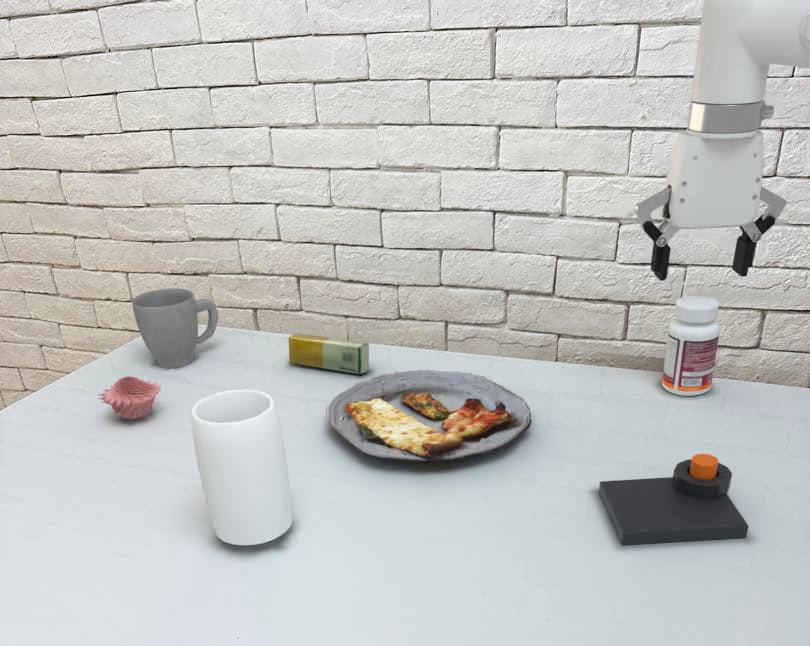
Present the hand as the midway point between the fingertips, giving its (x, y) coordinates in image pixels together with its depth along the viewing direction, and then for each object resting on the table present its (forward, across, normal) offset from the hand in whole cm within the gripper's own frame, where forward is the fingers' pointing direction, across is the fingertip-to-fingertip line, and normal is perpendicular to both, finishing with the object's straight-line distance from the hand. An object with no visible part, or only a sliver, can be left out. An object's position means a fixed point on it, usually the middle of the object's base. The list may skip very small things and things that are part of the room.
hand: (699, 275), depth 103 cm
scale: (+15, +11, +30) cm, 35 cm away
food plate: (+15, +34, +7) cm, 38 cm away
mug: (+16, +69, -21) cm, 73 cm away
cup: (+15, +53, +29) cm, 62 cm away
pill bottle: (+15, 0, 0) cm, 15 cm away
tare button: (+12, +7, +27) cm, 30 cm away
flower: (+16, +72, -1) cm, 73 cm away
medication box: (+15, +47, -14) cm, 51 cm away
